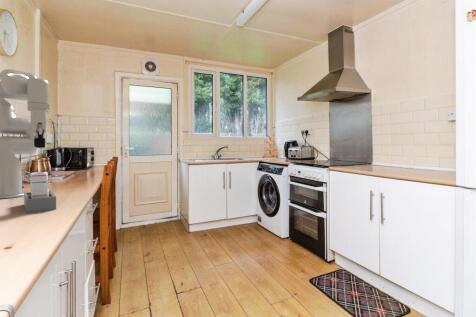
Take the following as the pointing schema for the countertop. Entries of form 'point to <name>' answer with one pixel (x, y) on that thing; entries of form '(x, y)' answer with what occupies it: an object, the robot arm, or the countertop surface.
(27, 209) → the holder
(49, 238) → the countertop surface
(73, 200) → the countertop surface
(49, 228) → the countertop surface
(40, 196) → the syrup box
